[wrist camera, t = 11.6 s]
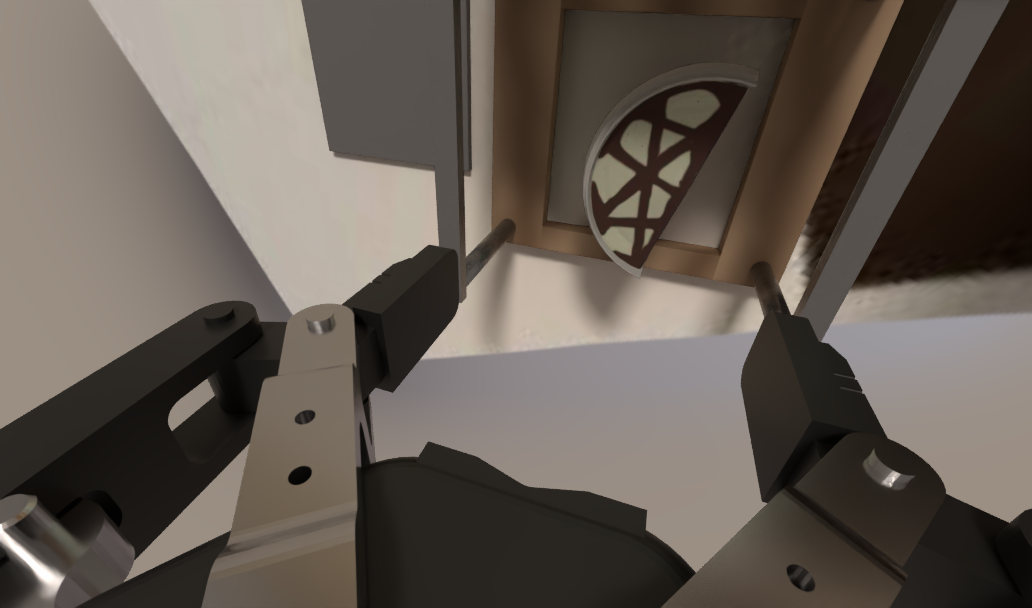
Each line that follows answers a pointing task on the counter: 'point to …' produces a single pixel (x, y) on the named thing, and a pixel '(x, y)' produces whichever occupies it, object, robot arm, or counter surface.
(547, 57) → the wooden base board
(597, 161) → the food container
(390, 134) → the charcoal mat
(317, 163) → the counter surface
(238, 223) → the counter surface
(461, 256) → the cover rails
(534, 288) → the counter surface
